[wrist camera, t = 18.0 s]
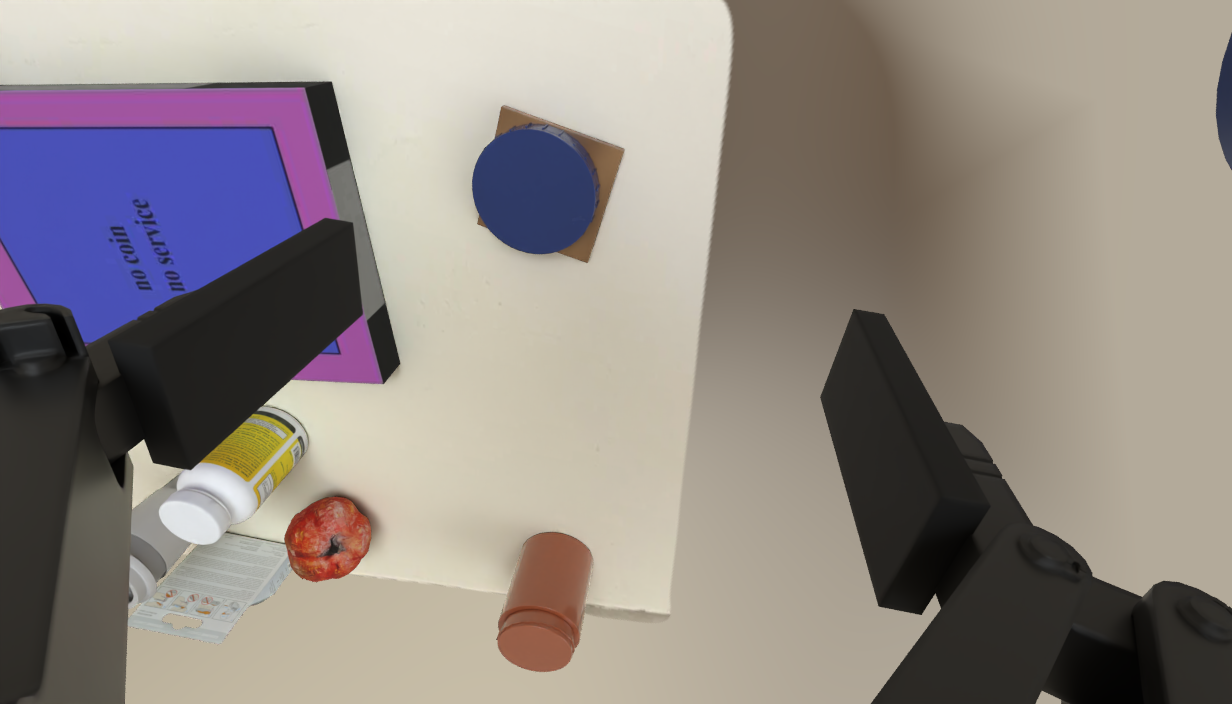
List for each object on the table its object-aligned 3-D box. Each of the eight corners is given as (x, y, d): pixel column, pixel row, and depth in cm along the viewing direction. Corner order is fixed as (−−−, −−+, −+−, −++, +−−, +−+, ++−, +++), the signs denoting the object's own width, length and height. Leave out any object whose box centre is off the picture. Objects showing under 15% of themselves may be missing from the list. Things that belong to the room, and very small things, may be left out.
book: (383, 384, 46) (38, 367, 49) (400, 363, 48) (70, 349, 52) (304, 87, 35) (-131, 91, 38) (331, 81, 38) (-79, 86, 41)
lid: (470, 221, 41) (460, 230, 39) (494, 103, 37) (485, 108, 35) (580, 260, 41) (575, 271, 40) (616, 149, 37) (613, 156, 35)
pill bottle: (230, 411, 53) (129, 500, 44) (285, 397, 52) (193, 487, 42) (270, 462, 56) (183, 556, 47) (323, 451, 54) (245, 546, 45)
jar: (602, 546, 57) (587, 638, 48) (581, 590, 60) (563, 683, 52) (530, 523, 56) (502, 612, 48) (514, 569, 60) (485, 660, 52)
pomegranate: (366, 529, 63) (400, 560, 55) (298, 576, 59) (325, 617, 51) (331, 472, 60) (362, 497, 52) (257, 518, 56) (279, 551, 48)
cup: (162, 451, 57) (45, 551, 47) (227, 459, 56) (123, 562, 46) (186, 505, 61) (82, 608, 50) (248, 513, 60) (156, 619, 50)
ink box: (301, 560, 63) (229, 663, 53) (217, 544, 63) (129, 643, 54) (297, 542, 62) (222, 645, 52) (211, 525, 62) (120, 624, 52)
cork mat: (624, 148, 38) (623, 151, 37) (588, 259, 42) (587, 263, 41) (504, 104, 37) (501, 106, 37) (479, 221, 41) (476, 224, 41)
